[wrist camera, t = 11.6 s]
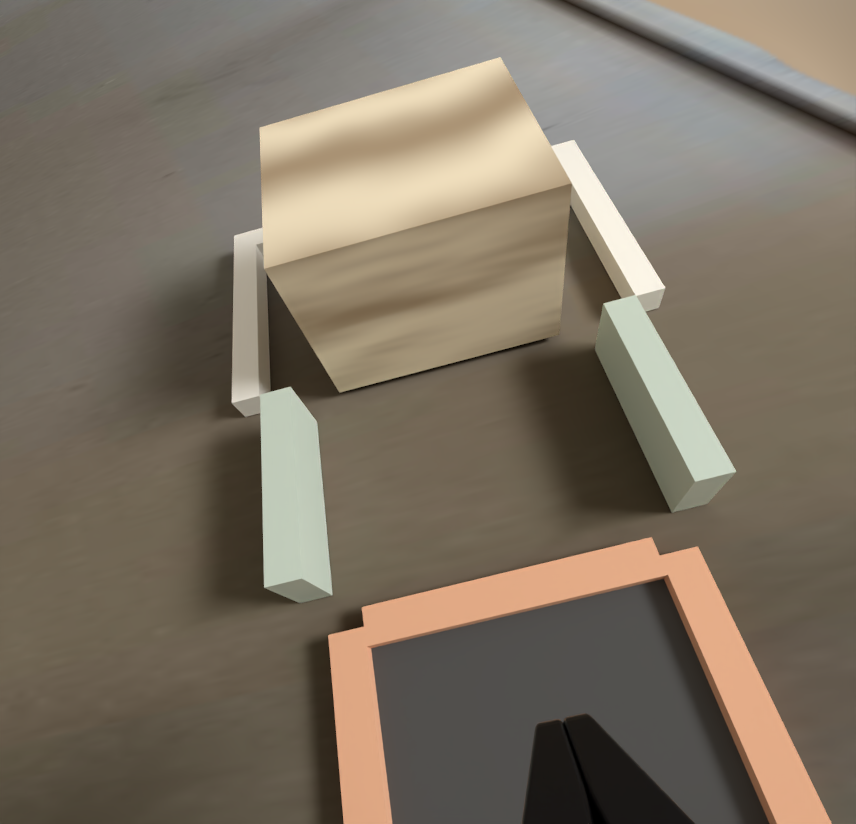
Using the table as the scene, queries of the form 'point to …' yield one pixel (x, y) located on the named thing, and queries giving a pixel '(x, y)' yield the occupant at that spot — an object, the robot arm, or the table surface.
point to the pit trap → (560, 693)
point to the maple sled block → (416, 225)
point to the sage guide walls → (635, 389)
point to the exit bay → (586, 201)
